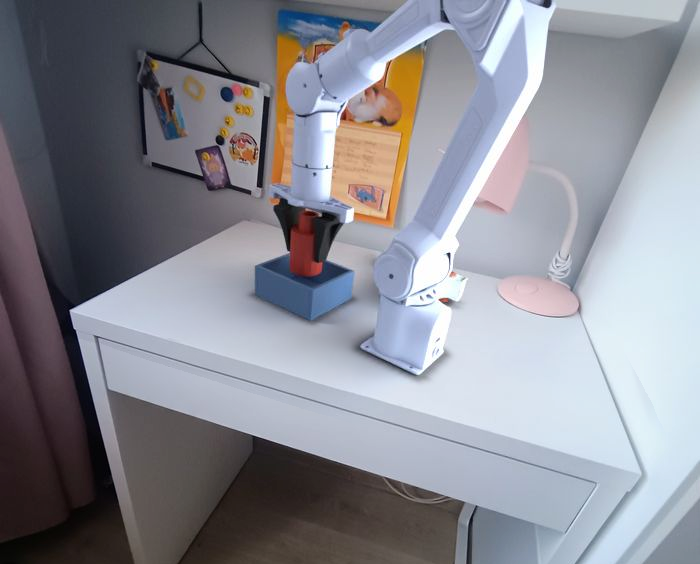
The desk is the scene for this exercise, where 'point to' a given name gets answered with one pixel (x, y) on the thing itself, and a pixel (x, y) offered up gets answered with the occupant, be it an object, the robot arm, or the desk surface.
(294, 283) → the tub
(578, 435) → the desk surface
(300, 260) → the bottle
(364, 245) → the desk surface
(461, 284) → the tape dispenser
